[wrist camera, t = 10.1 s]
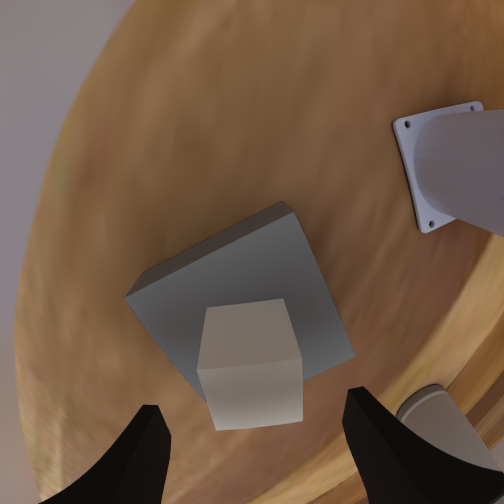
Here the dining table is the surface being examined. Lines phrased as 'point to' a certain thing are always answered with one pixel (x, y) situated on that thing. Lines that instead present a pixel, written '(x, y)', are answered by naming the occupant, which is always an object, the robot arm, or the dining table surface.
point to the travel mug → (445, 427)
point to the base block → (242, 291)
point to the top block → (251, 366)
